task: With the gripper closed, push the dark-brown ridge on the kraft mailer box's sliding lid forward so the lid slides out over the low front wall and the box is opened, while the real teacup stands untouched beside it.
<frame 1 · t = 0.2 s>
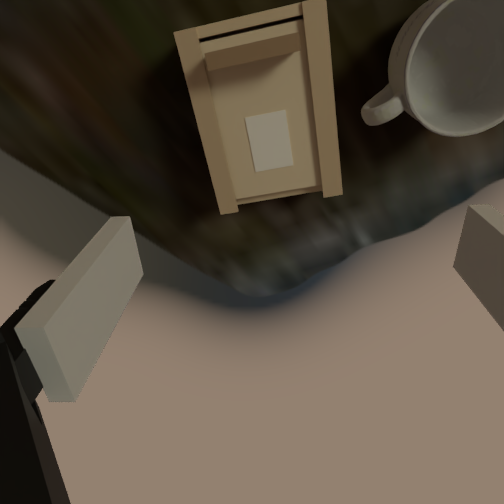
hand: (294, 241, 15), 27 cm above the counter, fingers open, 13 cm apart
lid: (265, 122, 32), point 7 cm above the counter, slide at 0.0 cm
teacup: (419, 66, 36), on the counter
mailer box: (266, 108, 38), on the counter
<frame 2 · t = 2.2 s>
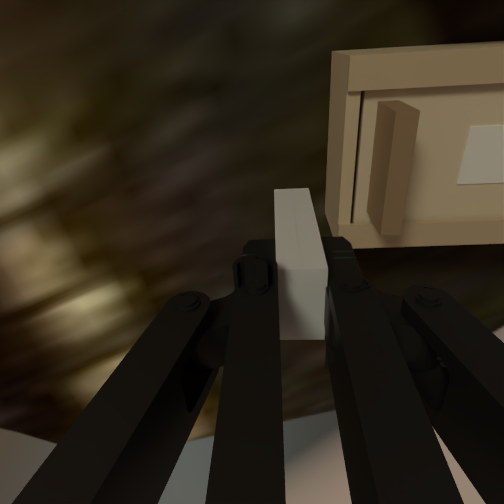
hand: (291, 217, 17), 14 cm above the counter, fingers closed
lid: (483, 163, 22), point 7 cm above the counter, slide at 0.0 cm
mailer box: (435, 134, 28), on the counter
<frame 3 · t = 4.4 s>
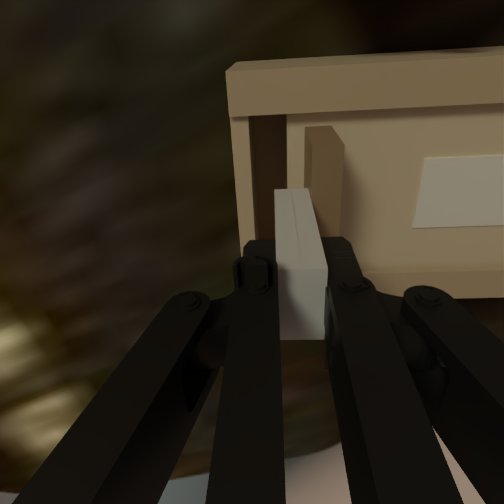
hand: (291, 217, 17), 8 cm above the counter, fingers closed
lid: (440, 205, 17), point 7 cm above the counter, slide at 1.4 cm, touching gripper
mailer box: (371, 161, 24), on the counter
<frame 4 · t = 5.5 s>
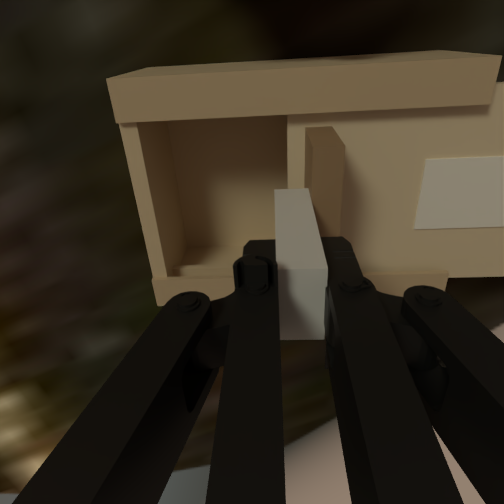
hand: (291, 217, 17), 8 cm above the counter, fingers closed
lid: (441, 207, 17), point 7 cm above the counter, slide at 6.5 cm, touching gripper
mailer box: (290, 165, 24), on the counter
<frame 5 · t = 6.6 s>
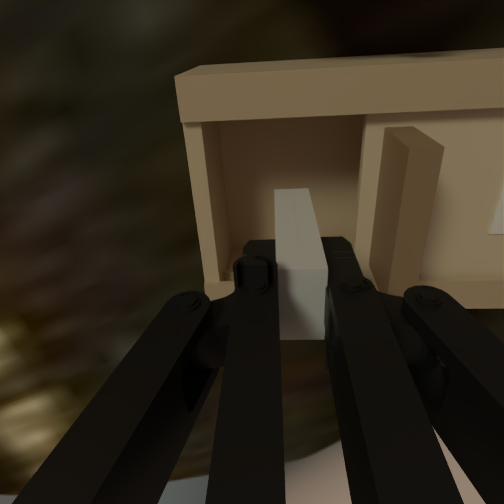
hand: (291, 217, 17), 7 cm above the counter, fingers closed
mailer box: (342, 167, 23), on the counter
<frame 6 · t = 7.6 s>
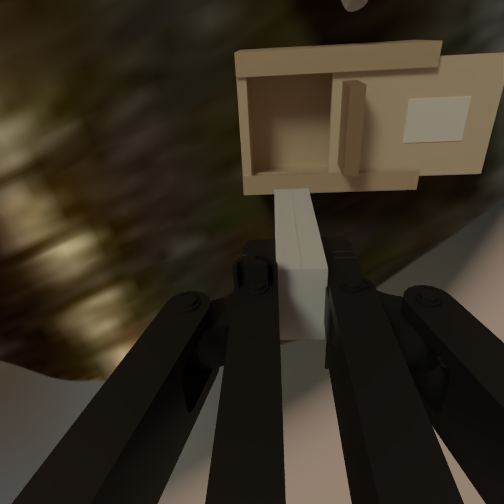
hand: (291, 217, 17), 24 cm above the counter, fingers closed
lid: (417, 124, 31), point 7 cm above the counter, slide at 6.8 cm
mailer box: (323, 113, 38), on the counter
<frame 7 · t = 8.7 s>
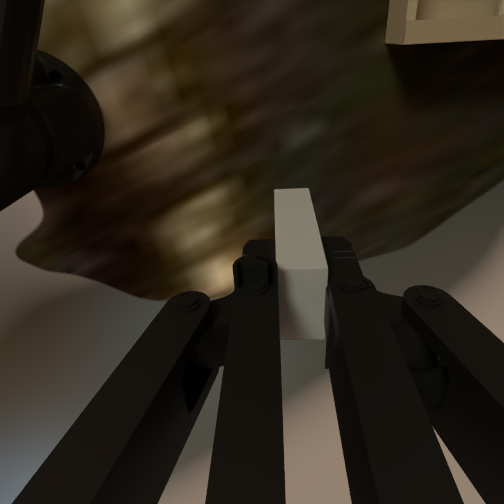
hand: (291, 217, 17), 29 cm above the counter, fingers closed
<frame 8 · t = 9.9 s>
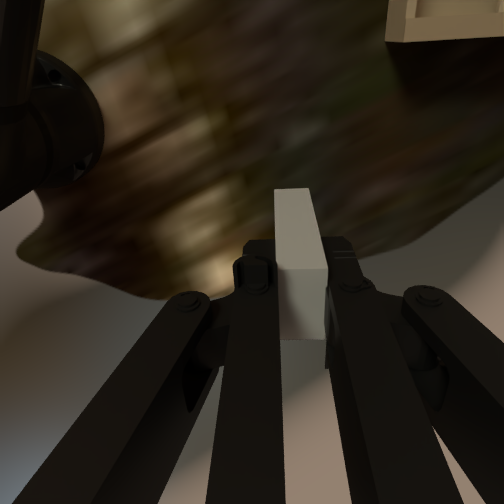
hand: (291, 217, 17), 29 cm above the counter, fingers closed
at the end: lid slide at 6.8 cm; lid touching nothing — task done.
